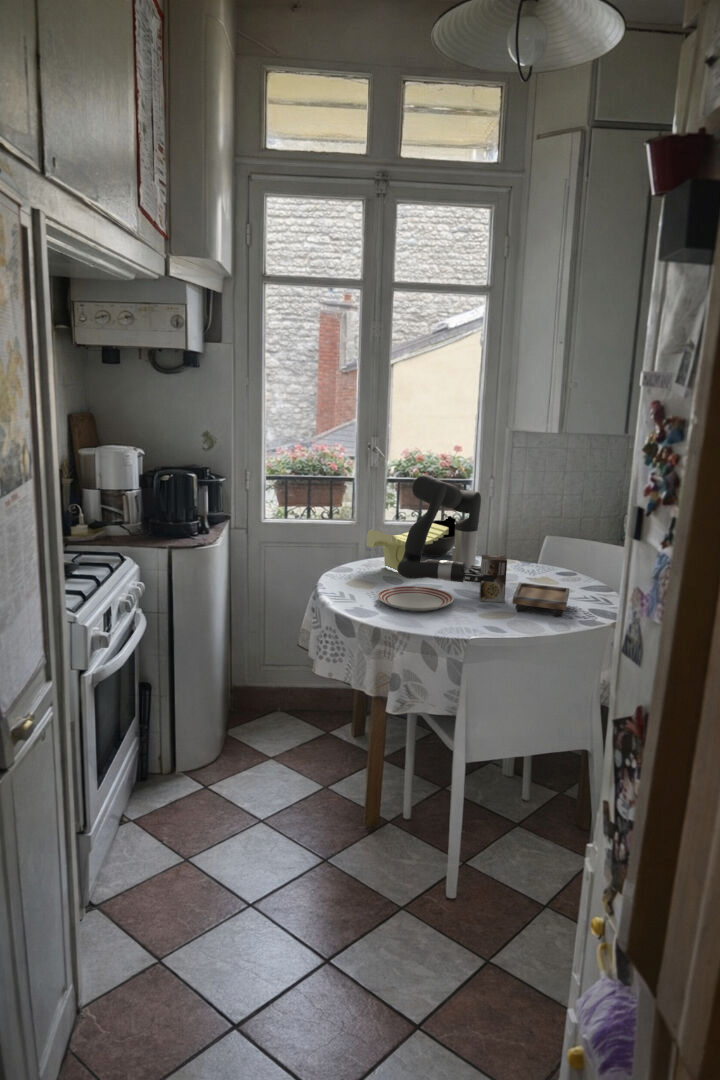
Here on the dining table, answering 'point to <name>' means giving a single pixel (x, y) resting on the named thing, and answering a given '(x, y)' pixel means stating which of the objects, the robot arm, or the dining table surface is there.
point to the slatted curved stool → (400, 543)
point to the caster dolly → (541, 597)
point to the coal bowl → (442, 539)
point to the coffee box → (498, 569)
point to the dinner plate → (415, 598)
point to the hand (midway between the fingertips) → (496, 576)
